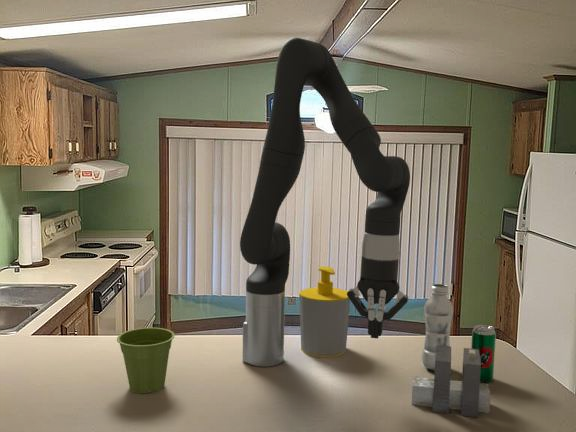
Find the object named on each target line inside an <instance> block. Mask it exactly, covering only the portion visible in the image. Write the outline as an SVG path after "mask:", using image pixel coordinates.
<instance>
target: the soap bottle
mask: <svg viewBox="0 0 576 432" xmlns="http://www.w3.org/2000/svg"><path fill="white" fill-rule="evenodd" d="M317 271H320V280H318V281H317V287H316V286H315V287H309V288H304V289H302V290H300V291H299V293H298V297H299V299H298V300H299V321H300V325H299V326H300V327H299V328H300V350H301V352H303V353H304V354H305V353H306V355H308V356H311V357H317V358H337V357H340V356H343V355H344V354H345V353H346V352H347V342H348V330H349V318H350V307H351V300H350V299H349V297H348V296H347V292H348V291H349V290H345V289H342V288H336V287H334V281H332V280H331V275H333V276H334V275H335V274H336V273H335V270H334V268H332V267H330V266H320V267H318V270H317Z"/></svg>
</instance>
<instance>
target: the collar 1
mask: <svg viewBox="0 0 576 432" xmlns="http://www.w3.org/2000/svg"><path fill="white" fill-rule="evenodd" d="M451 368H452V346H451V345H450V346H440V345H436V357H435V370H434V374H433V377H434V378H433V379H434V395H433V407H432V412H433V413H440V414H449V410H450V409H449V393H450V380H451V372H452V371H451V370H452V369H451Z"/></svg>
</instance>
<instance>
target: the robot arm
mask: <svg viewBox="0 0 576 432" xmlns="http://www.w3.org/2000/svg"><path fill="white" fill-rule="evenodd" d="M277 57H278V58H277V60H276V61H277V62H276V67H275V68H276V69H275V75H274V77H275V78H274V85H273V95H272V102H271V103H272V104H271V109H270V113H269V119H268V125H267V130H266V133H265V134H266V135H265V139H264V143H263V146H262V147H263V148H262V151H261V157H260V163H259V167H258V173H257V177H256V180H255V186H254V189H253V190H254V191H253V194H252V198H251V202H250V205H249V210H248V212H247V215H246V218H245V221H244V224H243V227H242V230H241V234H240V238H239V239H240V240H239V249H240V253H241V256H242V259H244V260H245V261H246V262H247V263H248V264H250V265H255V269H254V270H253V272H252V273H251V274H250V275H249V276H248V277H247V279H246V282H245V321H244V322H243V323H242V362H243V363H247V364H249V365H252V366H257V367H273V366H277V365H280V364H282V363H283V362H284V358H285V357H284V355H285V313H286V312H285V310H286V309H285V306H286V305H285V303H286V302H285V301H286V300H285V299H286V283H287V281H288V277H289V272H290V260H291V240H290V239H291V238H290V234H289V232H288V230H287V229H286V227H285V225H284V224H281V223H279V222H277V221H276V220H277V216H278V213H279V211H280V208H281V206H282V204H283V202H284V200H285V199H286V197H287V196H288V194H289V192H290V191H291V190H292V188H293V187H294V185H295V183H296V182H297V179H298V177H299V174H300V172H301V167H302V163H303V159H304V155H305V150H306V138H305V133H304V128H303V123H302V118H301V111H300V110H301V99H302V95H303V90H304V86H305V85H307V86H309V85H310V86H311V87H312V88H313V89H314V90H315V91H316V92H317V93H318V94H319V95H320V96H321V97H322V99H323V100H324V102H325V104H326V107H327V110H328V113H329V114H328V115H329V119H330V124H331V126H332V129H333V130H334V132H335V134H336V136H337V137H338V138H339V139H340V142H341V143H342V144H343V145H344V147H345V148H346V150H347V151H348V152H349V153H350V156H351V157H350V158H351V160H352V162H353V166H354V168H355V170H356V173H357V175H358V177H359V179H360V181H361V182H362V184H363V185H364V186H365V187H366V188H368V190H370V191H373V192H374V193H377V194H376V197H375V200H374V201H373V202H372V203H370V204H369V205H368V206H367V207H366V209H365V217H364V218H365V219H364V232H363V239H362V244H361V257H360V259H361V260H360V277H359V280H358V282H357V285H356V286H355V287H353V288H349V289H348V290H347V291H348V292H347V296H348V297H349V299H350V303H351V304H352V305H353V306H354V308H355V309H356V311H357V313H358V314H359V315H360V316H361V317H365V318H366V319H367V322H368V325H367V334H368V335H369V336H370V338H371V339H379V337H381V336H382V333H383V327H384V321H386V320H388V321H389V320H391V319H392V318H393V317H394V316H395V315H396V314H397V313H398V312H399V311H401V309H402V308H403V307H405V305H406V304H408V301H409V296H408V294H404V292H402V291H401V290H400V284H399V283H398V278H399V266H400V265H399V263H400V255H401V250H400V248H401V243H400V240H401V239H400V234H401V232H400V231H401V213H402V210H403V207H404V205H405V202H406V198H407V195H408V192H409V189H410V183H411V182H410V181H411V173H410V167H409V165H408V163H407V162H406V160H404V158H402V157H400V156H396V155H384V154H383V153H382V152H381V149H380V148H379V147H380V146H381V143H382V139H381V135H380V134H379V132H378V131H377V129H376V128H375V127H374V125H373V123H371V121H370V119H368V117H367V116H366V114H365V113H364V111H363V110H362V109H361V107H360V106H359V104H358V103H357V101H356V100H355V98H354V96H353V95H352V92H351V91H350V89H349V87H348V86H347V84H346V81H345V80H344V78H343V76H342V74H341V73H340V70H339V68H338V65H337V63H336V61H335V60H334V57H333V56H332V54H331V52H330V50H328V48H327V47H326V46H324V45H323V44H322V43H320V42H319V43H318V42H317V41H312V40H309V39H304V38H302V37H291V38H289V39H288V40H286V41H285V42H284V43H283V45H282V47H281V48H280V51H279V54H278V56H277ZM360 294H361V295H362V297H363V299H364V300H365V301H366V302H367V307H366V305H365V304H364V302H363V300H362V299H361V297H360V296H361V295H360ZM395 297H396V298H395ZM394 298H395V302H396V303H394V305H393V306H391V308H389V310H388V311H386V306H387V304H389V303H390V302H391V301H392V300H393V299H394ZM376 310H377V311H376Z"/></svg>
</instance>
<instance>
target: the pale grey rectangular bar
mask: <svg viewBox="0 0 576 432" xmlns="http://www.w3.org/2000/svg"><path fill="white" fill-rule="evenodd" d="M433 395H434V378H430V377H423V376H422V377H421V376H420V377H419V376H412V388H411V405H414V406H423V407H431V408H433ZM462 396H463V381H462V380H452V379H450V393H449V410H450V409H451V410H460V411H462ZM490 402H491V391H490V387H489V384H488V383H485V382H480V388H479V405H478V413H487V414H488V413H490V405H491V403H490Z"/></svg>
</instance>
